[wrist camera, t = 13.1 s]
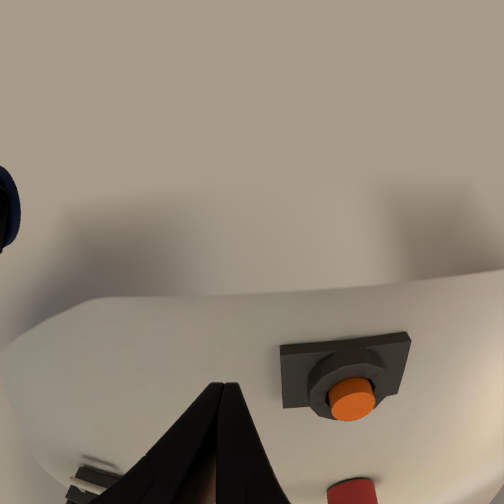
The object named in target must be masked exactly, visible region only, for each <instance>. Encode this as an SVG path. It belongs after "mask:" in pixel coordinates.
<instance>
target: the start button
mask: <svg viewBox="0 0 504 504" xmlns="http://www.w3.org/2000/svg"><path fill="white" fill-rule="evenodd" d="M329 401H330V407H331V412H332V415H333V416H334V417H335V418H336V419H338V420H341V421H352V420H357V419H359V418H362V417H364V416H365V415H367V414H368V413H369V412H370V411H371V410H372V409H373V408H374V406H375V397H374V394H373V391H372V388H371V385H370V383H369V381H368V380H367V379H366V378H364V377H360V376H355V377H348V378H345V379H343V380H341V381H339V382H337V383H335V384H334V385H333V386H332V387H331V389H330V391H329Z"/></svg>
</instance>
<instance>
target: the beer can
mask: <svg viewBox="0 0 504 504" xmlns="http://www.w3.org/2000/svg"><path fill="white" fill-rule="evenodd" d="M327 500H328V504H378V502H377V497H376V492H375V487H374V483H373V482H372V481H371V480H368V479H352V480H348V481H344V482H342V483H339V484H337V485H335V486H333V487H332V488H331V489H330V490H329V491H328V493H327Z"/></svg>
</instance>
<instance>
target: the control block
mask: <svg viewBox="0 0 504 504" xmlns="http://www.w3.org/2000/svg"><path fill="white" fill-rule="evenodd" d="M410 344H411V339H410V337H409V336H408V334H407V332H403V333H396V334H389V335H383V336H375V337H368V338H360V339H351V340H342V341H332V342H322V343H310V344H298V345H283V346H280V358H281V377H282V399H283V408H298V407H311V409H312V410H313V411H314V412H315V413H316V414H317V415H318V416H320V417H324V418H328V419H333V420H338V419H336V418H335V417H334V416H333V415H332V412H331V407H330V401H329V391H330V389H331V387H332V386H333V385H334V384H335V383H337V382H339V381H341V380H343V379H345V378H348V377H355V376H360V377H364V378H366V379H367V380H368V381H369V383H370V385H371V388H372V391H373V394H374V397H375V406H374V408H375V407H376V406H377V405H378V404H379V403H380V402H381V401H382V400H383V399H384V398H385V397H386V396H390V395H395V394H397V393H398V390H399V386H400V383H401V380H402V376H403V372H404V369H405V365H406V361H407V357H408V353H409V349H410ZM374 408H373V409H374ZM373 409H372V410H373Z"/></svg>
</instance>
